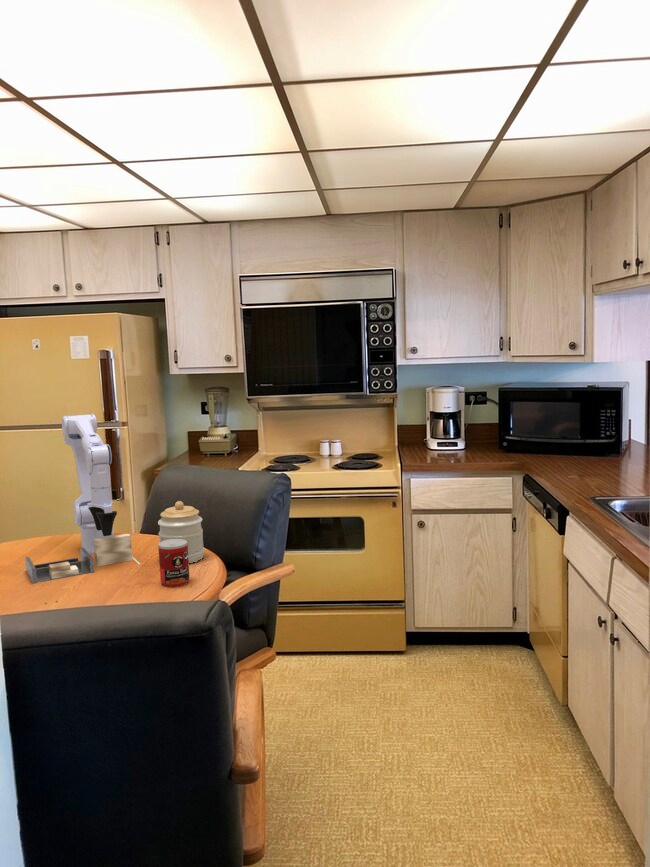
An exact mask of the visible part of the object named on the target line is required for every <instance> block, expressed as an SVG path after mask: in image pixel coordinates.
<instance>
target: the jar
mask: <svg viewBox="0 0 650 867" xmlns="http://www.w3.org/2000/svg"><path fill="white" fill-rule="evenodd" d="M199 514H200V510H199V509H198V508H197V509H196V508H195V507H194V506H191V505H185V504H184V502H183V501H181V500H177V501H176V502H175V504H174V506H172V507H171V506H170V507H168V508H165V509H164V510H163V511H161V513H160V517H161V518H160V519H159V520H158V521H157V525H158V526H159V532H158V536H159V543H160V542H162V541H165V540H169V539H183V540H186V541H187V544H188V559H189V563H191V564H194V563H193V562H195V563H197V562H196V561H198V560H200V559H201V558H204V554H205V548H204V538H203V537H204V536H203V535H204V534H203V531H204V530H203V528H202V524H201V523H202V521H203V518H202V516H199ZM201 560H202V559H201ZM201 560H200V561H201ZM198 562H199V561H198Z"/></svg>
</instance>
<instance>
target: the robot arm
mask: <svg viewBox="0 0 650 867" xmlns="http://www.w3.org/2000/svg"><path fill="white" fill-rule="evenodd" d="M61 428H62V429H61V430H62V436H63V440H64V442H65V445H67V446H70V447H71V449H72V452H73V457H74V463H75V468H76V473H77V480H78V485H79V491H80V492H79V493H80V496H78V498H76V499H75V501H74V502H73V505H72V507H73V519H74V523H75V525H77V527H80V537H81V538H80V539H81V541H80V542H81V548H84V549H85V550H86V551H87V552H88V553H89V554H95V548H94V539H98V538H104V537H110V536H115V535H114V534H115V533H114V528H113V526H114V522H115V519H116V517H117V514H118V511H117V510H113V504H114V501H113V494H112V482H111V480H112V479H111V467H110V466H111V464H112V461H113V458H112V457H113V455H112V450H111V446H110V445H109V444H108V443H107V444H106V443H105V444H104V441H103V439H102V438H101V436H100V435H99V434H98V433H97V431H98V420H97V416H96V415H95V414H94V413H90V414H78V415H63V417H61Z"/></svg>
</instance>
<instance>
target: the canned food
mask: <svg viewBox="0 0 650 867" xmlns="http://www.w3.org/2000/svg"><path fill="white" fill-rule="evenodd" d="M158 558H159V559H158V561H159V575H160V577H159V578H160V584H161V585H162V586H163V587H166V588H178V587H182V586H185V585H187V584H188V583H189V582H188V581H190V564H189V559H188V544H187V541H186V540H183V539H169V540H165V541H162V542H160V541H159V543H158ZM186 583H187V584H186ZM184 584H185V585H184ZM181 585H182V586H181ZM177 586H178V587H177Z"/></svg>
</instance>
